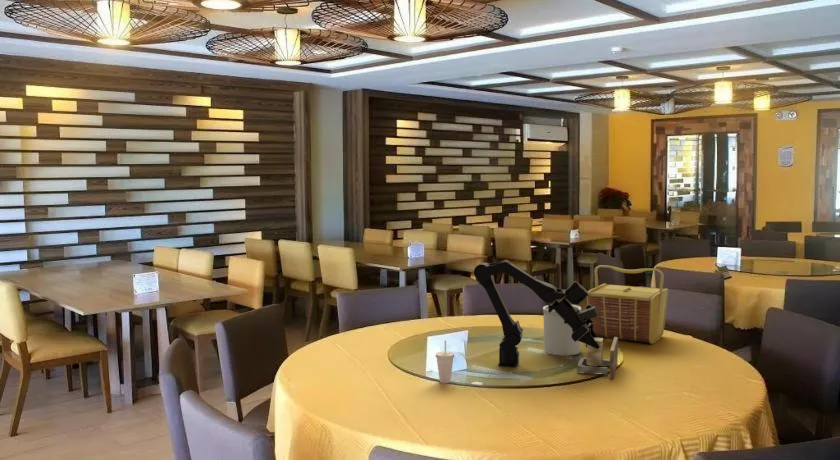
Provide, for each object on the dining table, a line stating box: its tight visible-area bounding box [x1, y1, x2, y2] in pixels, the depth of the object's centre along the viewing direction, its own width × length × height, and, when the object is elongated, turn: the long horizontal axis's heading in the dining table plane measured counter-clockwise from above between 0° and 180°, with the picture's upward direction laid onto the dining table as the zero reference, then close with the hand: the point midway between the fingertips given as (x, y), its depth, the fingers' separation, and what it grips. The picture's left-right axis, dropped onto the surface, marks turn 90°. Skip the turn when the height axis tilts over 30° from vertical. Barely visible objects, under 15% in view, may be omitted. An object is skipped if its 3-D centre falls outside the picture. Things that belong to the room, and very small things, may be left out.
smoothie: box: [435, 340, 455, 384], centre depth 243 cm, size 6×6×14 cm
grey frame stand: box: [576, 337, 619, 380], centre depth 254 cm, size 13×20×10 cm, turn 161°
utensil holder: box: [542, 304, 582, 357], centre depth 280 cm, size 15×15×18 cm
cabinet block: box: [585, 337, 604, 367], centre depth 255 cm, size 6×5×9 cm
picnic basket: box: [586, 264, 669, 345], centre depth 301 cm, size 29×26×30 cm
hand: (599, 346), depth 254 cm, fingers closed on cabinet block, 5 cm apart
